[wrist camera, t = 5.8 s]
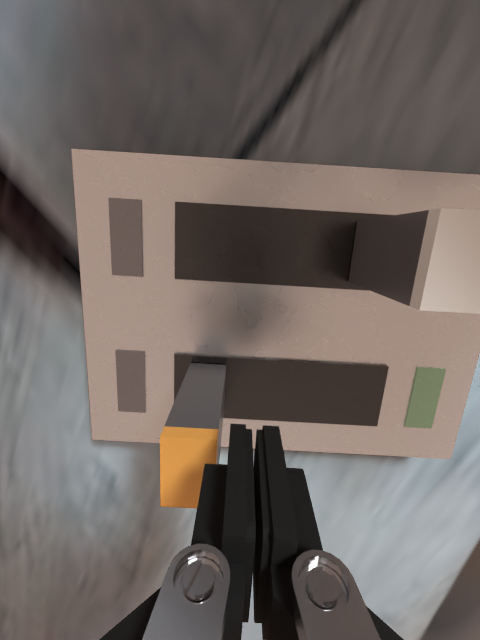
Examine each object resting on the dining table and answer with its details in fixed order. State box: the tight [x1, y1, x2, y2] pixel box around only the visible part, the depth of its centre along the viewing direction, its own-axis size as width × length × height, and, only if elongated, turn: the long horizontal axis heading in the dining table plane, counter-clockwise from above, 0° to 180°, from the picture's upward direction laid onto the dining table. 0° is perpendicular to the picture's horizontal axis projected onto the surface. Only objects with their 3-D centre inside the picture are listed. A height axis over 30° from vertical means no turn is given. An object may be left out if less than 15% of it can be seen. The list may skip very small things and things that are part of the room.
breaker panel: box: [71, 149, 480, 459], centre depth 18 cm, size 16×22×3 cm
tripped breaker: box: [160, 363, 226, 508], centre depth 14 cm, size 3×2×7 cm, turn 177°
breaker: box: [348, 208, 480, 314], centre depth 12 cm, size 3×2×7 cm, turn 177°
